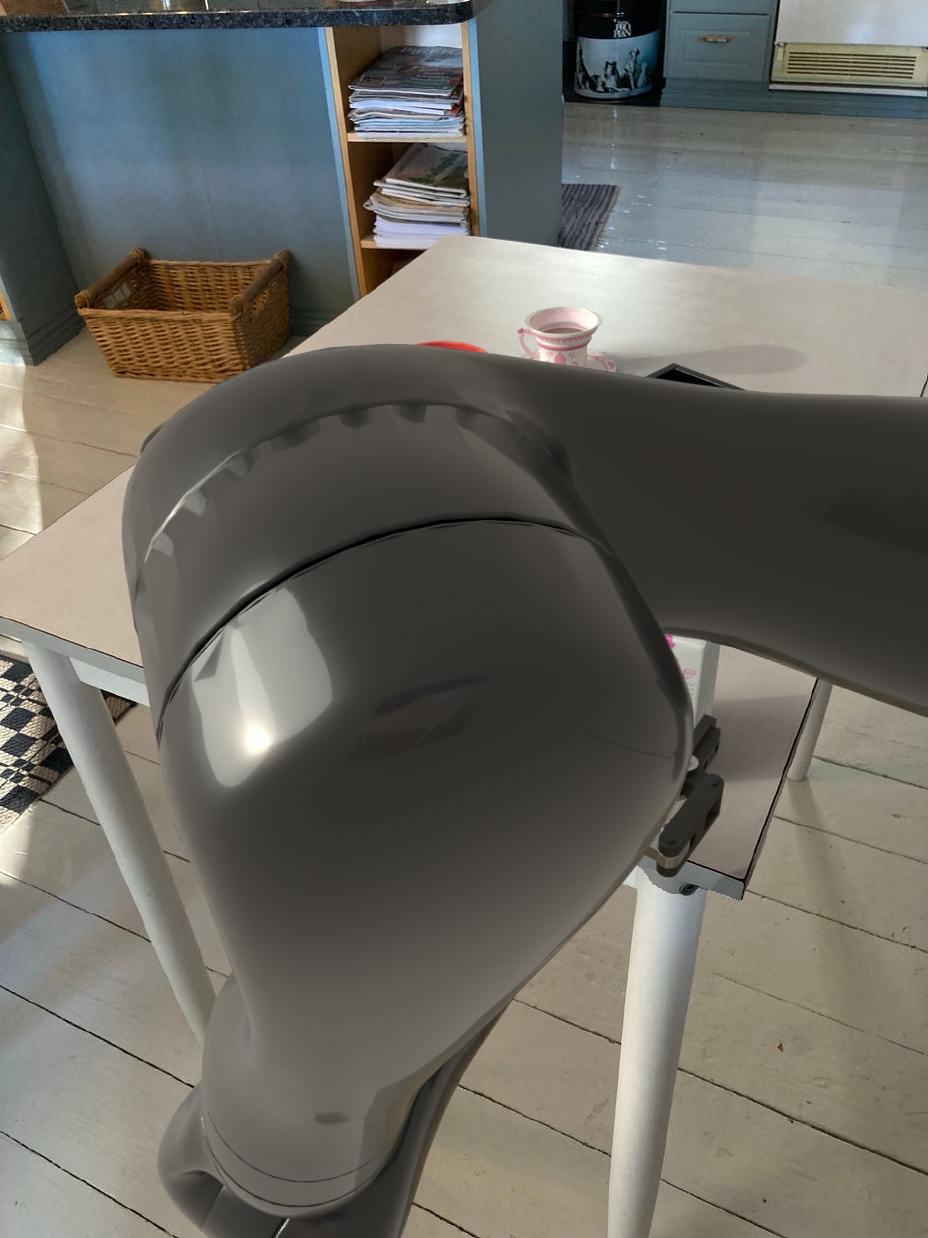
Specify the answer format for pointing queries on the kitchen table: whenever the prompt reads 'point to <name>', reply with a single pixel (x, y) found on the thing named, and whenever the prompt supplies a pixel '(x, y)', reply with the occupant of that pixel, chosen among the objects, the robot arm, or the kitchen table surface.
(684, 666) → the supplement box
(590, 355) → the teacup
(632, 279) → the kitchen table surface
